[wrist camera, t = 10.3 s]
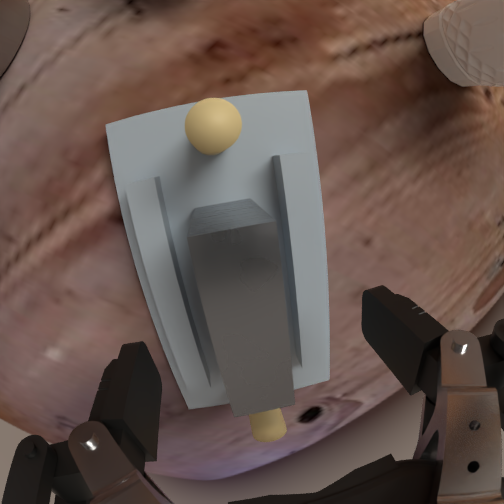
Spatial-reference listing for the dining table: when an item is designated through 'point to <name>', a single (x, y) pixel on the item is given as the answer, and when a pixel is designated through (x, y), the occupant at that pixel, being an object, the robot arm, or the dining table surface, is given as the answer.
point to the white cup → (468, 41)
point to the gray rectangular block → (244, 302)
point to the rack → (214, 192)
